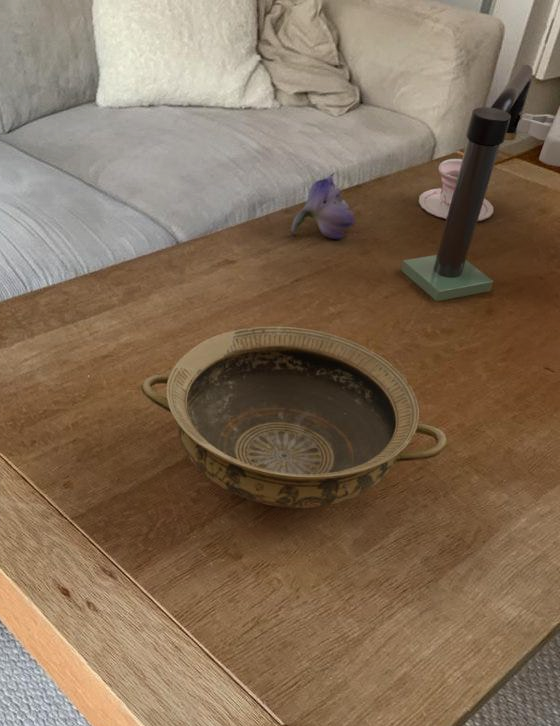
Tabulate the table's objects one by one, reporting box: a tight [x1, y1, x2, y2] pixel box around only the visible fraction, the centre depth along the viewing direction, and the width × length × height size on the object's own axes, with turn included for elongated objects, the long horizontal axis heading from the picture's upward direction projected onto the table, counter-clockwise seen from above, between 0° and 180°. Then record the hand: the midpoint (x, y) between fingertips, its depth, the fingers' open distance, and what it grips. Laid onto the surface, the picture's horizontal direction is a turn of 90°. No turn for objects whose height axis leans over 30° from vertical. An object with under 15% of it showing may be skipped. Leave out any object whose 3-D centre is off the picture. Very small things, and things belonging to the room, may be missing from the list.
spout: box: [465, 64, 533, 145], centre depth 112 cm, size 29×5×11 cm, turn 154°
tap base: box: [400, 138, 501, 302], centre depth 109 cm, size 9×9×20 cm
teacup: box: [418, 158, 494, 222], centre depth 132 cm, size 12×12×6 cm
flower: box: [290, 172, 355, 241], centre depth 122 cm, size 9×9×10 cm
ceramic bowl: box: [141, 325, 448, 509], centre depth 81 cm, size 30×24×10 cm
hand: (519, 121), depth 122 cm, fingers closed
